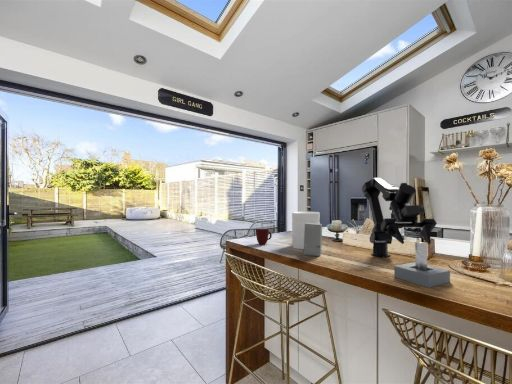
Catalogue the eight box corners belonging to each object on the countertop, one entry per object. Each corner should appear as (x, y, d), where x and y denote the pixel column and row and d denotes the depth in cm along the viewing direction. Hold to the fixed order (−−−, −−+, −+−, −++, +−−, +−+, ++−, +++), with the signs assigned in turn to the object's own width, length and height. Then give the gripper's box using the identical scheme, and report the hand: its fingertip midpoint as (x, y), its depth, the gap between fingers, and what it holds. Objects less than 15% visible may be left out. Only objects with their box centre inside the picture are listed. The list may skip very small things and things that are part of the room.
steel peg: (416, 277, 91) (416, 241, 91) (428, 279, 88) (427, 242, 88) (414, 279, 88) (414, 243, 88) (426, 281, 86) (426, 244, 86)
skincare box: (303, 255, 124) (303, 223, 124) (306, 252, 131) (306, 222, 131) (320, 256, 121) (320, 224, 121) (322, 253, 128) (322, 222, 128)
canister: (313, 243, 154) (313, 211, 154) (324, 248, 138) (324, 213, 139) (288, 244, 151) (288, 211, 152) (297, 250, 136) (297, 213, 136)
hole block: (415, 272, 96) (415, 262, 96) (450, 282, 85) (449, 270, 85) (394, 276, 91) (394, 265, 91) (428, 287, 80) (428, 275, 80)
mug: (266, 242, 159) (266, 226, 159) (274, 244, 152) (274, 228, 152) (253, 244, 152) (253, 228, 152) (261, 246, 146) (261, 229, 146)
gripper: (383, 197, 97) (397, 230, 86) (433, 197, 96) (454, 230, 85) (375, 216, 105) (387, 247, 94) (421, 216, 103) (439, 248, 92)
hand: (416, 243), depth 91 cm, fingers open, 9 cm apart
